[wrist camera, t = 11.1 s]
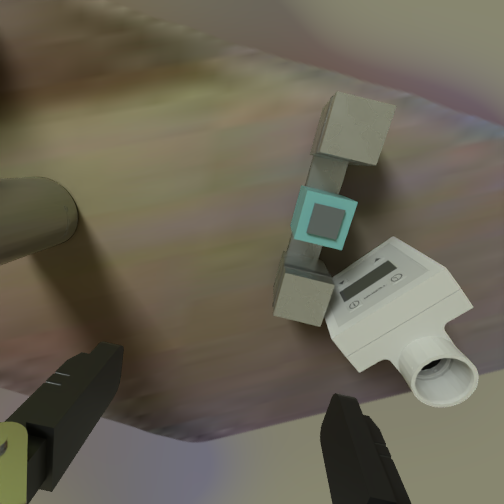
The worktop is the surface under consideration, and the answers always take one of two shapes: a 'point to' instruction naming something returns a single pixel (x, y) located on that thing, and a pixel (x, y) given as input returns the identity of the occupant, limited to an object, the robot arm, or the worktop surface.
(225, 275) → the worktop surface
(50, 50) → the worktop surface
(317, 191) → the block
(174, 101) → the worktop surface
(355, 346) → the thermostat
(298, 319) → the rail
